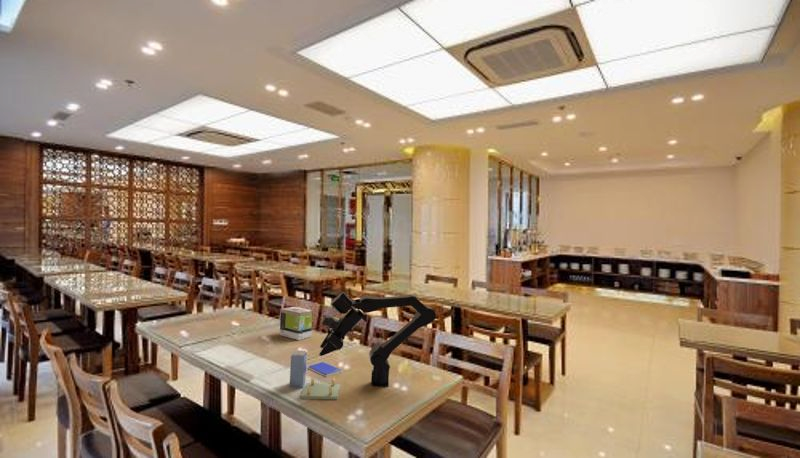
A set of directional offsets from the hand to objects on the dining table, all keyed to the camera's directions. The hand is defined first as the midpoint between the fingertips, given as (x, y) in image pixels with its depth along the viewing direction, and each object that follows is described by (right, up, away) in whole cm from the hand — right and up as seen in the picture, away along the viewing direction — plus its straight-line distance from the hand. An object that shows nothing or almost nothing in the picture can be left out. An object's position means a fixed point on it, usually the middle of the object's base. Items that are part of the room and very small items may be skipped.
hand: (320, 351), depth 152 cm
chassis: (+2, -13, -7) cm, 15 cm away
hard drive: (-1, -13, +15) cm, 20 cm away
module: (-9, -13, -1) cm, 15 cm away
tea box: (-26, -11, +62) cm, 68 cm away
